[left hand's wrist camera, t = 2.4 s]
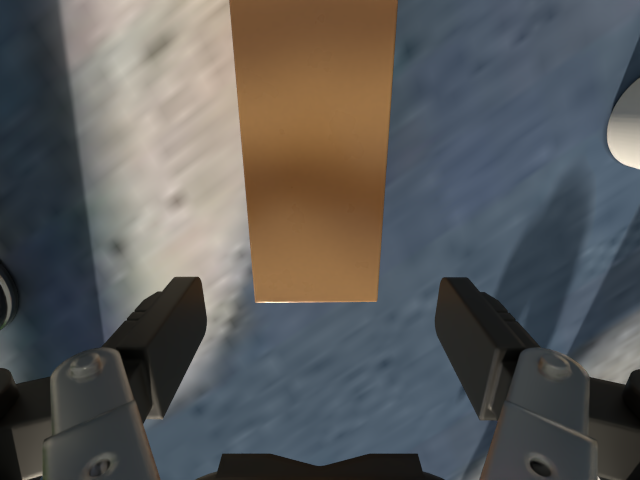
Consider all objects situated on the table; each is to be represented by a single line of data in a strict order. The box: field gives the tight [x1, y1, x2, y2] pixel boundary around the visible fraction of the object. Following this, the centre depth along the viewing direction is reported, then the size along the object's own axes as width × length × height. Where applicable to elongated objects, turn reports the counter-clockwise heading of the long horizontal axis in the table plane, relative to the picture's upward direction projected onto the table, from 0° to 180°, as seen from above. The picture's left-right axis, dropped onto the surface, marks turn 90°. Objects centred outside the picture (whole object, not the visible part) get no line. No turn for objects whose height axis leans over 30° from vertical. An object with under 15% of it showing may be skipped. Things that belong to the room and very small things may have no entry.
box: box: [229, 0, 398, 303], centre depth 18 cm, size 21×6×10 cm, turn 0°
